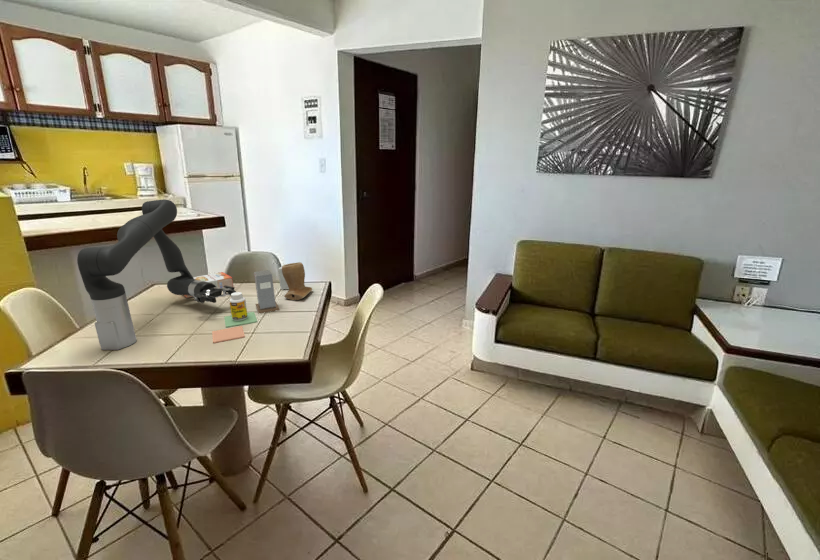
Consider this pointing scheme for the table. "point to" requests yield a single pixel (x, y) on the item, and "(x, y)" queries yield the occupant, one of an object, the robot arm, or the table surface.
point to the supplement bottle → (238, 306)
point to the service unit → (265, 292)
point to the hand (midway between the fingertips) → (225, 297)
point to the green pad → (231, 323)
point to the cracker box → (216, 280)
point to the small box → (282, 280)
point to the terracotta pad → (228, 334)
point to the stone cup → (295, 281)
